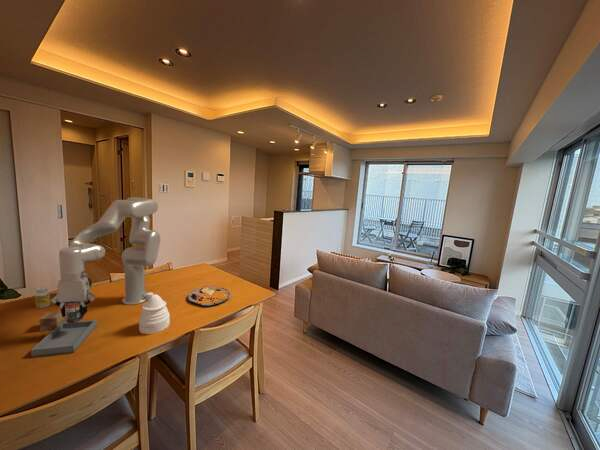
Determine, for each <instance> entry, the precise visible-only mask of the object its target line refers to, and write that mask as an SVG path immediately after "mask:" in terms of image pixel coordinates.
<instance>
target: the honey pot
mask: <svg viewBox="0 0 600 450" xmlns="http://www.w3.org/2000/svg"><path fill="white" fill-rule="evenodd" d="M147 296H148V299H147V300H146V301H145V303H144V304H142V306H141V309H142V311H141V313H140V317H139V319H138V330H139V331H140V332H141V333H148V334H149V333H155V332H159V331H162V330H164V329H165V328H167V327H168V326H169V327H170V325H171V319H170V312H169V310H168V307H167V302H166V301H165V300H163V298H162V297H161V296H160V295H158V294H154V292H150V293H149V292H148V293H147ZM169 324H170V325H169ZM169 327H168V328H169ZM168 328H167V329H168ZM139 331H138V332H139ZM140 332H139V333H140ZM141 333H140V334H141Z"/></svg>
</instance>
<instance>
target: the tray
mask: <svg viewBox="0 0 600 450" xmlns="http://www.w3.org/2000/svg"><path fill="white" fill-rule="evenodd" d="M97 322H98V321H97V319H92V320H80V321H78V322H75V323H67V322H66V321H65V322H64V323H61V324H60V325H59V326H58V327H56V328H55V329H54V330H52V331H50V332H49V333H48V334H47V335H46V336H45V337H43V339H42V340H40V342H38V343H37V344H36V345H35V346H34V347H33V348H31V349H30V356H31V358H36V357H38V358H39V357H47V356H55V355H65V354H72V353H73V354H74V353H75V352H76V351H77V350H78V348H79V347H80V346H81V345H82V344H83V343H84V341H86V339H87V338H88V337H89V335H90V334H92V332H93V331H94V330H95V329H96V328H97V326H98V325H97ZM82 342H83V343H82Z"/></svg>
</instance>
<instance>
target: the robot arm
mask: <svg viewBox="0 0 600 450" xmlns="http://www.w3.org/2000/svg"><path fill="white" fill-rule="evenodd" d="M158 208H159V204H158V202H157V201H156V200H155V199H153V198H147V197H146V198H145V197H138V196H137V197H134V196H133V197H128V198H126V199H116V200H114V201H112V203H111V204H110V205H109V207H108V208H106V210H105V212H104V213H103V214H102V216H101V217H100V218H99V220H98V221H96V222H95V223H94V224H91V225H89V226H88V227H86V228H84V229H83V230H82V231H80V232H79V233H77V234H76V236H75V237H74V238H73V240H72V241H71V242H70V244H69V245H68V247H64V248H61V249H60V250H59V252H58V258H59V259H58V260H59V274H60V278H59V280H58V283H57V287H56V288H57V289H56V295H55V296H54V297H52V298H50V302H51V303H53V304H54V305H56V306H57V307H58V309H60V312H61V314H62V317H65V302H70V301H71V300H72V301H73V302H80V303H81V305H82V307H81V315H82V316H84V317H85V314H87V313H88V310H89V309H88V305H89V304H90V303H91V302H93V301H94V300H95V299H96V298H97V296H96V295H94V294H93V293H92V292H91V287H90V286H89V282H88V279H87V277H89V273H88V272H86V270H85V263H87V262H96V261H99V260H101V259H102V258H103V257H105V255H106V248H105V247H103V245H99V244H95V243H92V242H93V241H94V240H96V239H97V238H99V237H102V236H106V235H110V234H112V233H115V232H117V231H118V229H119V228H120V227H121V225H122V224H123V223H124V221H125V220H126V218H127V217H128V218H132V222H131V226H130V227H131V228H130V232H129V238H128V241H129V243H130V244H132V245H134V246H131V247H127V248H125V249H124V250H123V252H122V253H121V259H122V263H123V269H124V292H125V293H124V295H125V296H124V297H123V298H122V299H121V302H122V304H124V305H128V306H131V305H137V304H138V305H139V304H142V303H144V302H147V301H148V299H149V297H148V296H147V293H150V292H147V291H148V290H147V289H146V279H145V277H146V274H145V273H146V270H145V267H150V266H152V265H154V264H155V263H156V260H157V259H158V254H159V250H160V249H159V248H160V244H161V234H160V233H159V232H158V231H157V230H154V229H150V223H151V220H150V215H153V214H155V213H156V212H157V211H158ZM135 246H136V247H135ZM137 246H140V247H137ZM142 247H143V248H142ZM144 266H145V267H144ZM85 276H87V277H85ZM87 298H89V299H87ZM65 318H66V317H65Z"/></svg>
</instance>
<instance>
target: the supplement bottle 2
mask: <svg viewBox="0 0 600 450" xmlns="http://www.w3.org/2000/svg"><path fill="white" fill-rule="evenodd" d="M81 307H82V305H81V303H80V302H73V301H72V300H71V301H70V302H65V322H67V323H75V322H78V321H83V319H84V317H85V315H84V316H82V315H81Z"/></svg>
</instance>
